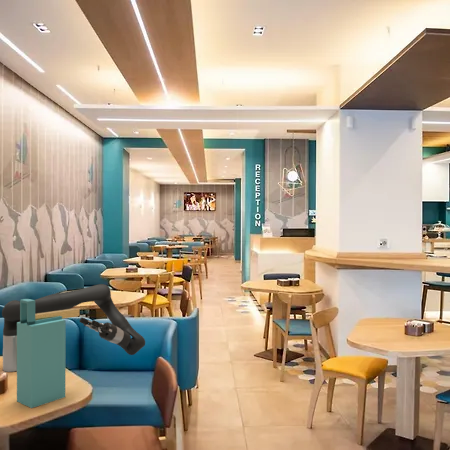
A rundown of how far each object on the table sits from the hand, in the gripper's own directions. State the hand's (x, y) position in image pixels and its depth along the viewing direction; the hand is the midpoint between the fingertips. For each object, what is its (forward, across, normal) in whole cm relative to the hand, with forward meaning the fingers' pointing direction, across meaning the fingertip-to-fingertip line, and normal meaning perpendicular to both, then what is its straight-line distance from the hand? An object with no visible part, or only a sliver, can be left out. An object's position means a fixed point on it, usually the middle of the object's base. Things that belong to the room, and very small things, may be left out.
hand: (86, 320), depth 210 cm
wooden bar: (+15, 0, +5) cm, 16 cm away
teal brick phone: (+4, 0, +36) cm, 36 cm away
